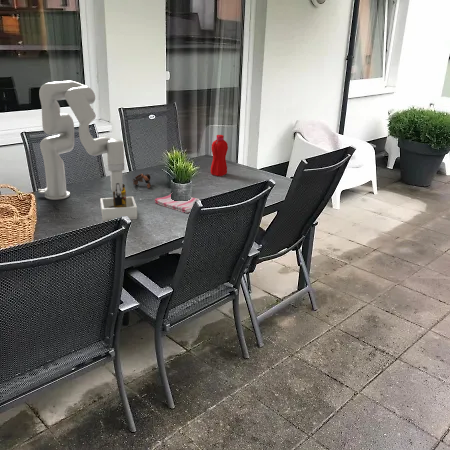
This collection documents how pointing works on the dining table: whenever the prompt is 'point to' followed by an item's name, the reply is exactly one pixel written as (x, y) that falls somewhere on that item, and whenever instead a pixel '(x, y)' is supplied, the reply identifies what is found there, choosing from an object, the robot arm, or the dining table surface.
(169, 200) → the dish towel
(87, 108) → the robot arm
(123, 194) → the condiment
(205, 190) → the dining table surface
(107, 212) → the bin
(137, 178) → the brown jointed arch figure
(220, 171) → the water bottle
